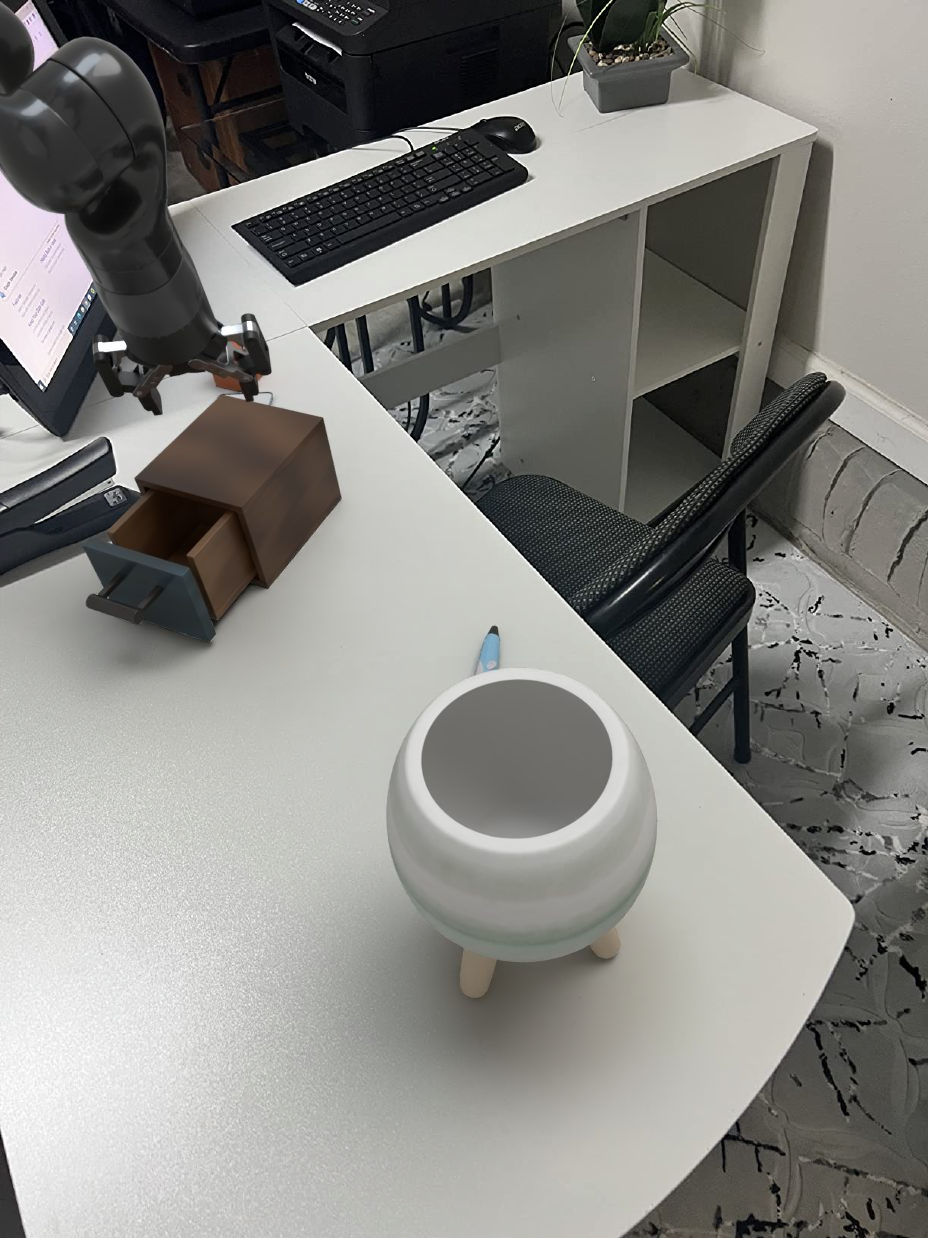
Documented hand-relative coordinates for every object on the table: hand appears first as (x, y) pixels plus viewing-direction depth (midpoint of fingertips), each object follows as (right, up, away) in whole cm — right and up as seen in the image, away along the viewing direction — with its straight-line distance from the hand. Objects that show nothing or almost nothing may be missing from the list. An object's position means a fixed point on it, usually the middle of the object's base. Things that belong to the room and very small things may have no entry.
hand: (203, 399), depth 90 cm
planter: (+29, -43, -21) cm, 56 cm away
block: (-4, +10, +32) cm, 33 cm away
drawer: (-3, -18, +5) cm, 19 cm away
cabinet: (+2, -11, +12) cm, 16 cm away
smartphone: (-3, +1, +24) cm, 24 cm away
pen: (+25, -29, -7) cm, 39 cm away
